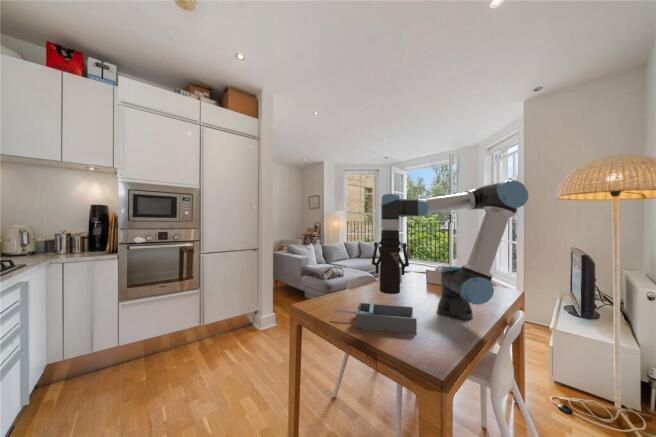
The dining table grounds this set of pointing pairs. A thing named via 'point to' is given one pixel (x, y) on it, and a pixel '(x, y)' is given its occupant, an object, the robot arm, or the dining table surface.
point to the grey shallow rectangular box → (386, 318)
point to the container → (390, 270)
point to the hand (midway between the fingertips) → (389, 281)
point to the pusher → (360, 312)
